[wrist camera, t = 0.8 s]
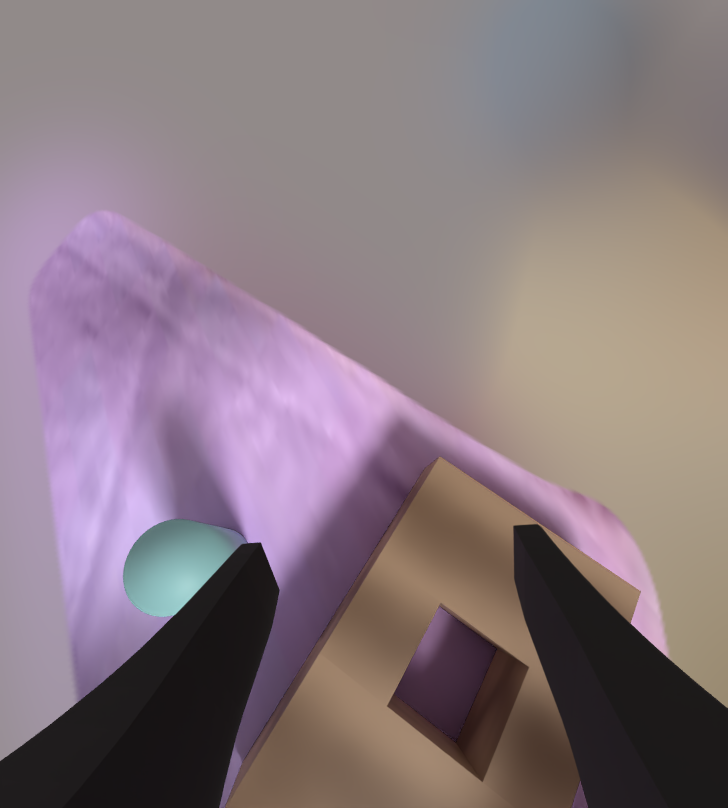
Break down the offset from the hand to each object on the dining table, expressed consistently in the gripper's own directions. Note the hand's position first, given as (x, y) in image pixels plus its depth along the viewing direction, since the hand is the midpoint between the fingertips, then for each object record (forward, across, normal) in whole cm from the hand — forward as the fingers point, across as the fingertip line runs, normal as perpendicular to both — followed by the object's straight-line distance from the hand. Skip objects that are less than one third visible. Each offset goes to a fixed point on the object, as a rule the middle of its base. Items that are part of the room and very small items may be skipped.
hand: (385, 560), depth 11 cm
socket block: (+6, 0, +16) cm, 18 cm away
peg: (+9, +13, +9) cm, 18 cm away
